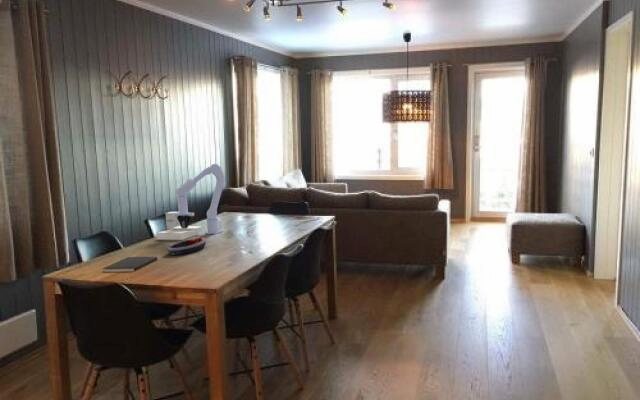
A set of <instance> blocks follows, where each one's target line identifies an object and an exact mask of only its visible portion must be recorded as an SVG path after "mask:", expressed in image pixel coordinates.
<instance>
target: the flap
mask: <svg viewBox="0 0 640 400" xmlns="http://www.w3.org/2000/svg"><path fill="white" fill-rule="evenodd" d="M201 228H204V226H200V225H199V226H198V225H196V226H195V225H193V226H192V225H188V227H187V228H185V222H182V228H181V226H178V227H174V228H172V229H201Z"/></svg>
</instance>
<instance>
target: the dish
mask: <svg viewBox="0 0 640 400" xmlns="http://www.w3.org/2000/svg"><path fill="white" fill-rule="evenodd" d="M206 243H207V239H206V238H205V237H203V236H202V237H193V238H189V239H186V240H183V241H176V242H175V243H172V244H168V245H167V247H166V250H167V252H168V253H169V255H172V256H174V255H175V256H179V255H185V254H190V253H194V252H196V251H199V250H202V249H203V248H204V247H205V246H206Z"/></svg>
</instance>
